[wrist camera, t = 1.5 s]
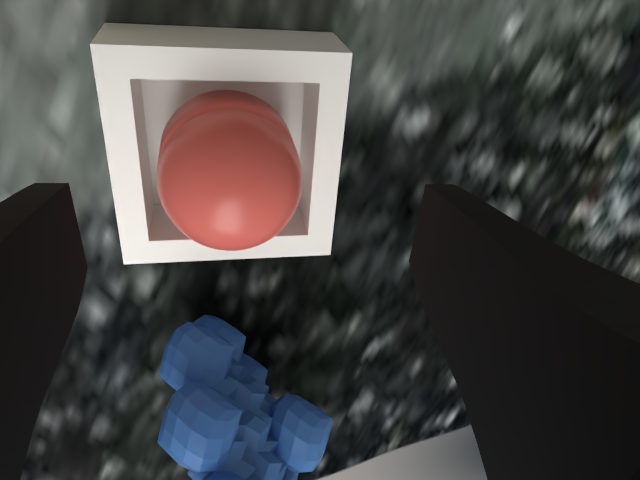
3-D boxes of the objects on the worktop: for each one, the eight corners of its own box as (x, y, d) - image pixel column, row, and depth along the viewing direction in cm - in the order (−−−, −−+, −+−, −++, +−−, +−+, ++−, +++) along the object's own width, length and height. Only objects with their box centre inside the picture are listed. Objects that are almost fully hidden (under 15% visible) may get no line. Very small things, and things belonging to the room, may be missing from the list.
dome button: (288, 204, 21) (308, 276, 17) (166, 207, 20) (158, 283, 16) (294, 87, 19) (320, 140, 15) (154, 84, 18) (142, 140, 14)
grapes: (340, 391, 31) (406, 625, 21) (233, 431, 31) (250, 682, 21) (269, 243, 24) (317, 485, 14) (133, 295, 24) (89, 570, 14)
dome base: (316, 217, 24) (330, 254, 21) (131, 222, 22) (123, 264, 20) (333, 32, 19) (352, 53, 17) (104, 22, 18) (89, 44, 15)
